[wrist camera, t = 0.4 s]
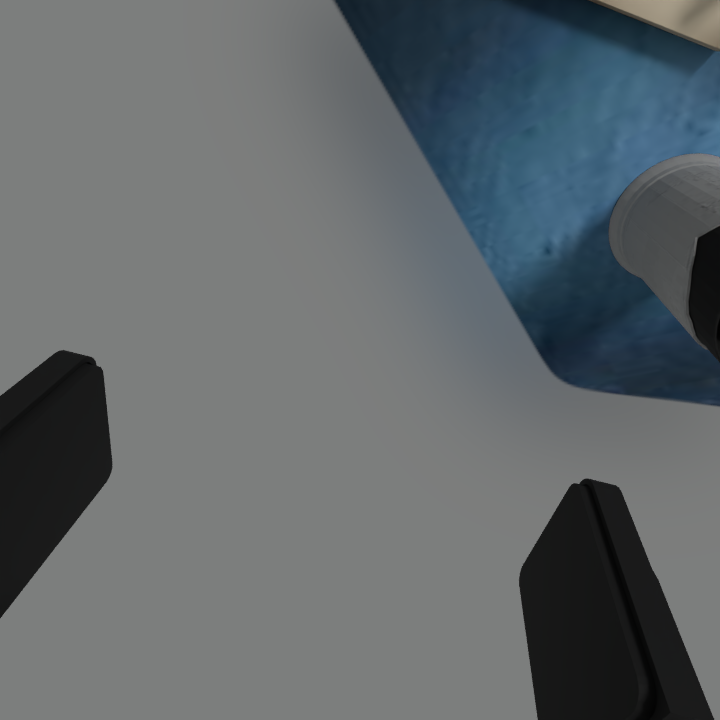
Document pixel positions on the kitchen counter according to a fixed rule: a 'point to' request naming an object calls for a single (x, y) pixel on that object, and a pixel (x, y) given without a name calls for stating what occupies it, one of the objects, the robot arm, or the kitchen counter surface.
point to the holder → (675, 240)
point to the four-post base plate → (675, 17)
